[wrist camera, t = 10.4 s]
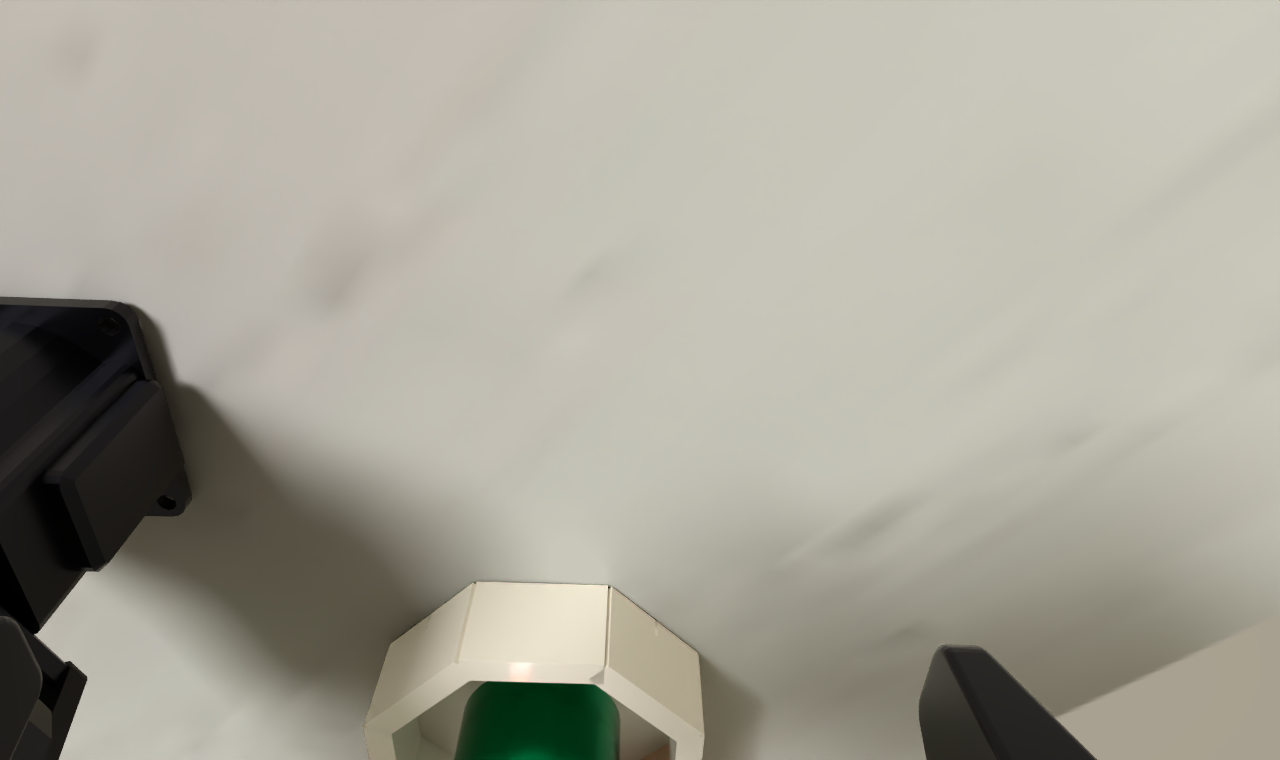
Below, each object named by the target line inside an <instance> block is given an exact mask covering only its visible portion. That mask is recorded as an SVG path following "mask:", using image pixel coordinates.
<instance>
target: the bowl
mask: <svg viewBox="0 0 1280 760" xmlns="http://www.w3.org/2000/svg"><path fill="white" fill-rule="evenodd" d="M486 681H503V682H539V683H574V684H595V685H596V686H598V687H599V688H601V689H602V690H603V691H605V692H606V693H607V694H608V695H609V696H610V697H611V699H612V700H613V701H614V703H615V704H616V706H617V709H618V711H619V715H620V720H621V725H620V760H702V754H703V746H704V738H705V735H704V721H703V707H702V693H701V678H700V664H699V655H698V653H697V652H696V651H695V650H693V649H692V648H691V647H689V646H688V645H687V644H686V643H684V642H683V641H682V640H680V639H679V638H678V637H676V636H675V635H674V634H673V633H671V632H670V631H669V630H667V629H666V628H665V627H664V626H662V625H661V624H660V623H658V622H657V621H656V620H654V619H653V618H652V617H651V616H649V615H648V614H647V613H645V612H644V611H643V610H641V609H640V608H639V607H638V606H636V605H635V604H634V603H632V602H631V601H630V600H628V599H627V598H626V597H625V596H623V595H622V594H621V593H619V592H618V591H617V590H616V589H614V588H613V587H611V588H609V589H608V585H579V584H546V583H512V582H479V581H477V583H476V584H474V583H472V584H470V585H469V586H468V587H466V588H465V589H464V590H462V591H461V592H460V593H458V594H457V595H456V596H454V597H453V598H452V599H450V600H449V601H448V602H446V603H445V604H444V605H442V606H441V607H439V608H438V609H437V610H435V611H434V612H433V613H431V614H430V615H429V616H427V617H426V618H425V619H423V620H422V621H421V622H419V623H418V624H417V625H415V626H414V627H413V628H411V629H410V630H409V631H407V632H406V633H405V634H403V635H402V636H400V637H399V638H398V639H396V640H395V641H394V642H392V643H391V644H390V646H389V649H388V652H387V655H386V658H385V661H384V664H383V667H382V671H381V674H380V677H379V680H378V683H377V686H376V689H375V692H374V695H373V698H372V701H371V704H370V707H369V710H368V714H367V717H366V720H365V723H364V726H363V730H364V735H365V740H366V745H367V750H368V754H369V759H370V760H454V756H455V752H456V747H457V742H458V737H459V732H460V728H461V723H462V718H463V713H464V709H465V705H466V703H467V701H468V699H469V697H470V696H471V695H472V693H473V692H474V691H475V690H476V689H477V688H478V687H479V686H480V685H482V684H483V683H485V682H486Z"/></svg>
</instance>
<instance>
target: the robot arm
mask: <svg viewBox="0 0 1280 760" xmlns="http://www.w3.org/2000/svg"><path fill="white" fill-rule="evenodd" d="M107 317H108V318H112V319H113V320H115V321H116V322H117V323H118V325H119V326H120V328H118V327H115V326H113V325H112V324H110V322H109V321H108V319H107ZM183 465H184V458H183V454H182V451H181V448H180V445H179V441H178V438H177V435H176V431H175V428H174V425H173V422H172V418H171V415H170V412H169V408H168V405H167V402H166V398H165V395H164V392H163V389H162V388H161V386H160V385H159V384H158V383H157V379H156V376H155V373H154V370H153V366H152V363H151V360H150V356H149V353H148V350H147V347H146V343H145V340H144V337H143V334H142V330H141V327H140V324H139V321H138V318H137V316H136V314H135V313H134V312H133V311H132V310H131V309H130V308H129V307H128V306H126V305H124V304H122V303H121V302H116V301H108V300H80V299H52V298H23V297H0V760H59V757H60V754H61V751H62V748H63V746H64V743H65V740H66V737H67V734H68V732H69V729H70V726H71V723H72V721H73V718H74V715H75V712H76V709H77V707H78V704H79V701H80V698H81V696H82V693H83V690H84V687H85V684H86V682H87V676H86V675H85V674H84V673H82V672H81V671H80V670H79V669H78V668H77V667H76V666H75V665H74V664H73V663H72V662H70V661H68V662H63V661H62V660H61V659H60V658H59V657H58V656H57V655H56V654H55V653H54V652H53V651H52V650H50V649H49V648H48V647H47V646H46V645H45V644H44V643H43V642H42V641H41V640H40V639H38V638H37V637H36V636H35V635H34V634H37V633H38V632H39V631H40V630H41V628H42V627H43V626H44V624H45V623H46V622H47V621H48V619H49V618H50V617H51V616H52V614H53V613H54V612H55V611H56V609H57V608H58V607H59V606H60V604H61V603H62V602H63V600H64V599H65V598H66V597H67V595H68V594H69V593H70V592H71V590H72V589H73V588H74V587H75V585H76V584H77V583H78V581H79V580H80V579H81V578H82V576H83V575H84V574H85V573H86V571H94V572H99V571H100V570H101V569H103V568H104V567H105V566H106V565H107V564H108V563H109V562H110V561H111V559H112V558H113V557H114V555H115V554H116V553H117V551H118V550H119V549H120V547H121V546H122V545H123V544H124V542H125V541H126V540H127V538H128V537H129V536H130V534H131V533H132V532H133V531H134V529H135V528H136V527H137V525H138V524H139V523H140V521H141V520H142V519H143V518H144V516H178V515H180V514H182V513H183V512H184V510H185V509H186V508H187V506H188V505H189V503H190V502H191V500H192V494H191V490H190V487H189V484H188V481H187V477H186V474H185V471H184V468H183ZM167 496H170V497H171V498H173V499H174V500H171V499H169V498H168V497H167ZM919 721H920V727H921V732H922V738H923V743H924V749H925V754H926V759H927V760H1097V759H1096V758H1095V757H1094V756H1093V755H1092V754H1091V753H1090V752H1089V751H1088V750H1087V749H1086V748H1085V747H1084V746H1083V745H1082V744H1081V743H1080V742H1079V741H1078V740H1077V739H1076V738H1075V737H1074V736H1073V735H1072V734H1070V733H1069V731H1067V729H1066V728H1065V727H1064V726H1062V725H1061V724H1060V723H1059V722H1058V721H1057V720H1056V719H1055V718H1054V717H1053V716H1052V715H1051V714H1050V713H1049V712H1048V711H1047V710H1046V709H1045V708H1044V707H1043V706H1042V705H1041V704H1040V703H1039V702H1038V701H1037V700H1036V699H1035V698H1034V697H1033V696H1032V695H1031V694H1030V693H1029V692H1028V691H1027V690H1026V689H1025V688H1024V687H1023V686H1022V685H1021V684H1020V683H1019V682H1018V681H1017V680H1016V679H1015V678H1014V677H1013V676H1012V675H1011V674H1010V673H1009V672H1008V671H1007V670H1006V669H1005V668H1004V667H1003V666H1002V665H1001V664H1000V663H999V662H998V661H997V660H996V659H995V658H994V657H993V656H992V655H990V654H989V653H988V652H987V651H986V650H984V649H983V648H981V647H978V646H973V645H942V646H940V647H939V648H938V649H937V650H936V651H935V654H934V656H933V659H932V662H931V665H930V668H929V671H928V674H927V677H926V680H925V684H924V687H923V690H922V693H921V696H920V701H919Z"/></svg>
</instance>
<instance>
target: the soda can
mask: <svg viewBox="0 0 1280 760" xmlns="http://www.w3.org/2000/svg"><path fill="white" fill-rule="evenodd" d="M620 725H621V720H620V715H619V711H618V709H617V706H616V704H615V703H614V701H613V700H612V699H611V697H610V696H609V695H608V694H607V693H606V692H605V691H603V690H602V689H601V688H599V687H598V686H596V685H595V684H574V683H539V682H503V681H486V682H485V683H483V684H482V685H480V686H479V687H478V688H477V689H476V690H475V691H474V692H473V693H472V695H471V696H470V697H469V699H468V701H467V703H466V705H465V709H464V713H463V718H462V723H461V728H460V732H459V737H458V742H457V747H456V752H455V756H454V760H620Z"/></svg>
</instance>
